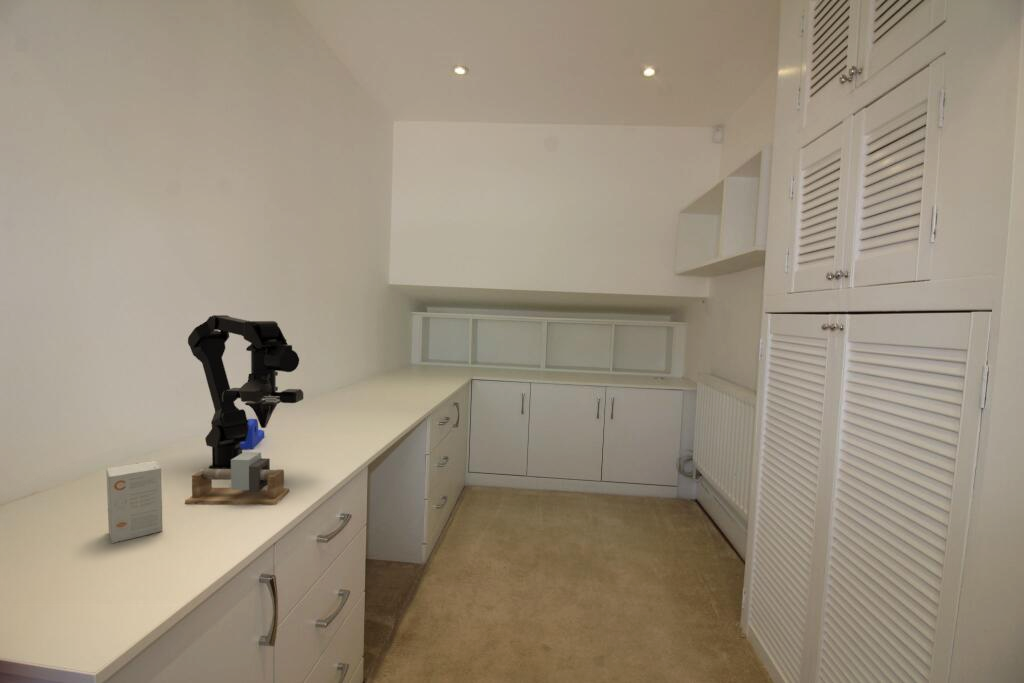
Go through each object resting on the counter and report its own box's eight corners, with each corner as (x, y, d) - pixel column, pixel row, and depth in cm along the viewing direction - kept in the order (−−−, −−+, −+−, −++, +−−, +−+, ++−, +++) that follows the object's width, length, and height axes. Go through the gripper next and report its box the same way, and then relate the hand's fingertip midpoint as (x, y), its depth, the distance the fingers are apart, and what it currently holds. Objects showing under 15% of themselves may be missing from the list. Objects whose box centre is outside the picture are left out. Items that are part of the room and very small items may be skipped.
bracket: (252, 449, 153) (252, 421, 152) (222, 450, 151) (222, 422, 150) (267, 435, 170) (266, 409, 170) (240, 435, 169) (240, 410, 168)
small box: (158, 521, 102) (156, 459, 101) (163, 531, 97) (161, 467, 96) (107, 532, 96) (105, 467, 95) (110, 544, 92) (108, 476, 91)
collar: (249, 492, 112) (248, 466, 112) (261, 482, 118) (261, 458, 118) (257, 492, 112) (257, 466, 112) (269, 482, 118) (269, 458, 118)
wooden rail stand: (185, 503, 111) (184, 473, 110) (205, 490, 119) (205, 462, 118) (275, 504, 112) (274, 474, 111) (289, 491, 120) (289, 463, 119)
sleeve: (231, 489, 112) (230, 459, 112) (244, 480, 118) (244, 452, 118) (249, 489, 112) (248, 460, 112) (261, 480, 118) (261, 452, 118)
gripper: (209, 372, 120) (210, 434, 121) (286, 373, 120) (286, 436, 121) (233, 366, 131) (233, 424, 132) (304, 368, 132) (304, 425, 133)
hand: (263, 427), depth 129 cm, fingers closed
